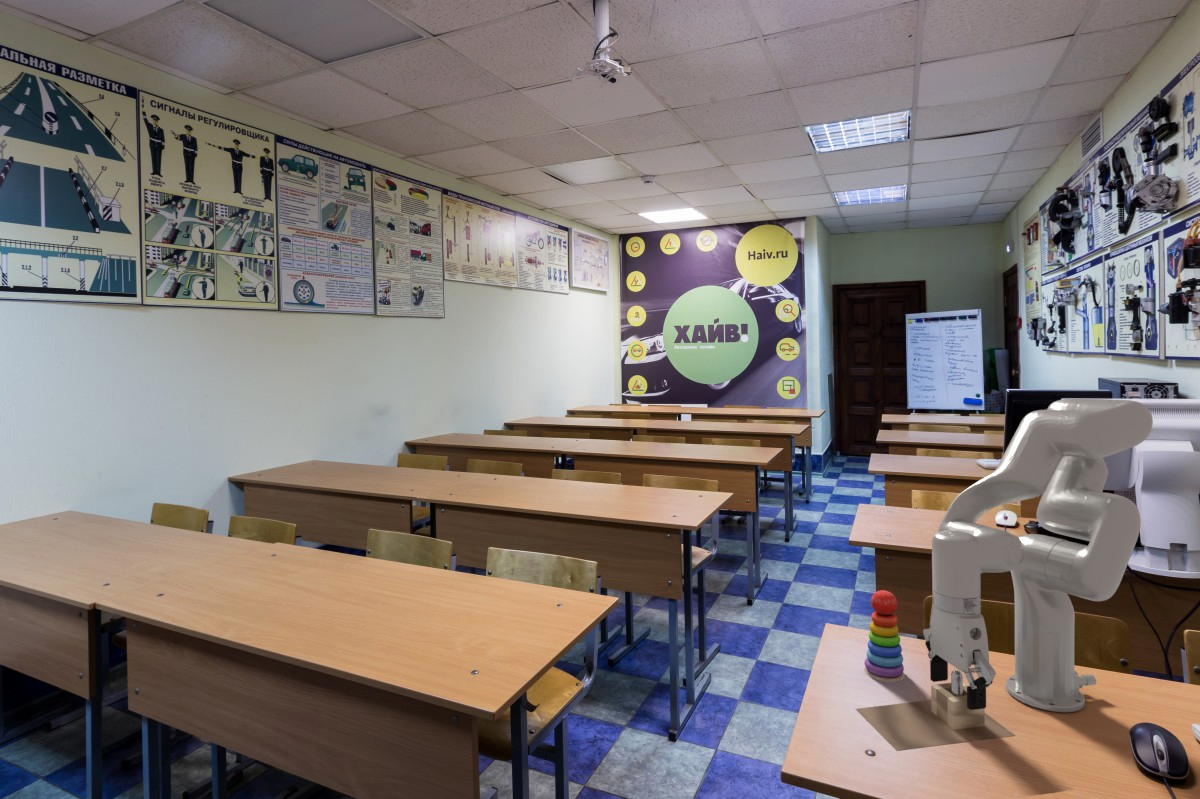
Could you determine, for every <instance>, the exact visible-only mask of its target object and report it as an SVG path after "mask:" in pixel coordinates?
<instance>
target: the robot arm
mask: <svg viewBox="0 0 1200 799" xmlns="http://www.w3.org/2000/svg"><path fill="white" fill-rule="evenodd" d="M1153 424H1154V421H1153V415H1152V413H1151V411H1150V410H1149V408H1148V407H1147V405H1145V404H1143V403H1141V402H1139V401H1136V400H1130V399H1129V400H1127V399H1108V398H1107V399H1106V398H1105V399H1104V398H1103V399H1101V398H1063V399H1060V400H1059V399H1058V400H1056V401H1053V402H1051V403H1050V404H1049V405H1048V407H1047V409H1039V410H1033V411H1031V412H1029V413H1027V414H1026V415H1025V416H1024V417H1023V418H1022V419H1021V421H1020V423H1019V425H1018V427H1017V429H1016V431H1015V432H1014V433H1013V434H1014V435H1013V436H1012V438H1011V440H1010V442H1009V444H1008V446H1007V447H1006V450H1005V452H1004V453H1003V455H1002V457H1001V459H1000V461H999V462H998V464H997V466H996V468H995V470H994V471H993V472H992V473H990V474H988V475H987V476H985V477H982V478H981V479H979V480H978V481H976V482H975V483H973V484H971V485H970V486H968V487H967V488H966V489H964V490H963V491H961V492H960V493H959V494H958V495H957V496H956V497H955V498H954V499H953V500H952V501H951V503H950V505H949V507H948V508H947V510H946V513H944V516H943V518H942V520H941V523H940V524H939V527H938V530H937V532H936V533H935V534H933V536H932V539H931V569H932V570H931V572H932V574H931V575H932V576H931V577H932V578H931V579H932V580H931V581H932V588H931V590H932V592H931V593H932V605H931V610H930V617H929V618H930V620H929V628H924V629H923V630H922V632H923V633H922V634H923V636H924V640H925V646H926V649H927V651H928V653H927V658H928V659H929V666H930V667H929V671H930V674H929V675H930V676H929V678H930V681H932V682H934V683H936V682H943V681H944V682H945V681H948V680H949V671H948V670H949V665H951V666H953V667H954V669H955V668H956V670H958V671H960V672H961V673H964V675H965V678H966V680H967V682H968V684H969V685H966V686H967V708H969V709H970V710H976V709H984V708H985V709H986V707H987V688H989V686H991V685H992V684H993V682H994V679H995V676H996V675H997V673H996V670H995V669H994V668H993V666H992V665H991V663H990V654H989V640H988V634H987V633H988V632H987V626H986V622H985V618H984V616H983V615H982V614H981V609H982V604H981V597H982V596H981V595H982V594H981V591H982V590H981V575H982V574H983V573H1006V572H1007V573H1008V572H1010V573H1011V579H1012V584H1013V585H1012V586H1013V591H1014V592H1013V594H1014V675H1011V676H1009V677H1007V679H1006V680H1005V689H1006V690H1007V692H1008V694H1009V695H1011V697H1013V698H1015V699H1016V700H1017V701H1020V702H1021V703H1023V704H1026V705H1028V706H1030V707H1034V708H1036V709H1039V710H1040V709H1041V710H1043V711H1049V712H1055V713H1073V712H1078V711H1081V710H1082V709H1083V708H1084V707H1085V700H1086V699H1085V696H1084V694H1082V692H1081V691H1080V689H1082V688H1083V687H1084V686H1085V687H1086V686H1094V685H1097V679H1096V677H1095V676H1094V675H1093V674H1090V673H1088V674H1081V675H1079V673H1078V672H1077V671H1076V670H1075V623H1076V622H1075V619H1076V618H1075V615H1076V614H1075V610H1074V609H1075V608H1074V606H1073V604H1072V600H1071V599H1070V596H1069V595H1071V596H1075V597H1078V598H1082V599H1085V600H1089V601H1093V602H1103V601H1107V600H1109V599H1111V598H1112V597H1113V595H1115V593H1116V592H1117V590H1118V588H1119V586H1120V585H1121V582H1122V580H1123V577H1124V574H1125V571H1126V569H1127V566H1128V564H1129V562H1130V559H1131V557H1132V554H1133V552H1134V549H1135V546H1136V543H1137V541H1138V538H1139V535H1140V531H1141V525H1142V524H1141V522H1142V520H1141V515H1140V511H1139V508H1138V506H1137V505H1136V504H1135V503H1134V502H1133V501H1132V500H1130V499H1129V498H1128V497H1125V496H1122V495H1119V494H1116V493H1111V492H1103V491H1104V488H1105V485H1106V482H1107V479H1108V476H1109V469H1108V467H1107V464H1106V462H1105V459H1104V458H1105V457H1110V456H1112V455H1115V454H1119V453H1120V452H1123V451H1126V450H1128V449H1132V448H1134V447H1137V446H1139V445H1140V444H1141V443H1143V442H1144V441H1145V440H1147V438H1148V437H1149V436H1150V434H1151V432H1152V429H1153ZM1040 496H1041V497H1040ZM1038 497H1040V501H1039V503H1038V506H1037V509H1036V515H1035V516H1036V520H1037V522H1038V524H1039V525H1040V526H1041V527H1042V528H1043V529H1045V530H1047V531H1049V532H1051V533H1053V534H1058V535H1062V536H1066V537H1070V538H1074V539H1079V540H1083V541H1086V542H1089V543H1088V545H1087V544H1082V543H1078V542H1073V541H1069V540H1067V539H1063V538H1058V537H1055V536H1049V535H1046V534H1045V535H1044V534H1037V533H1024V534H1023V535H1020V536H1017V535H1015V534H1013V533H1012V532H1010V531H1006V530H1005V529H1004V530H1003V529H999V528H996V527H991V526H988V525H984V524H981V523H977V522H978V520H979V519H980V518H981V517H982V516H983V515H984V514H986V513H987V512H989V511H990V510H992V509H994V508H998V507H1001V506H1003V505H1007V504H1013V503H1016V502H1021V501H1026V500H1031V499H1035V498H1038ZM972 666H974V667H972ZM973 674H976V675H977V678H976V679H975V677H974V675H973Z"/></svg>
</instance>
